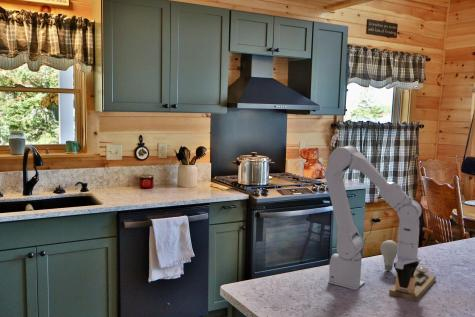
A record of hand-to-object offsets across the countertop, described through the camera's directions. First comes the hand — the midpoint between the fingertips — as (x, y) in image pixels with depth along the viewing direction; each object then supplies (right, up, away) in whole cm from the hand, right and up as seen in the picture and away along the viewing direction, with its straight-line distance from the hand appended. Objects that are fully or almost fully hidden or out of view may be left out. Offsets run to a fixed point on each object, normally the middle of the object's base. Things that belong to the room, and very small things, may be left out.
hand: (405, 285), depth 134 cm
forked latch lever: (+4, -1, +5) cm, 6 cm away
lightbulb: (+2, -1, +21) cm, 21 cm away
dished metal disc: (+11, 0, +14) cm, 18 cm away
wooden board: (+5, -3, +8) cm, 10 cm away
